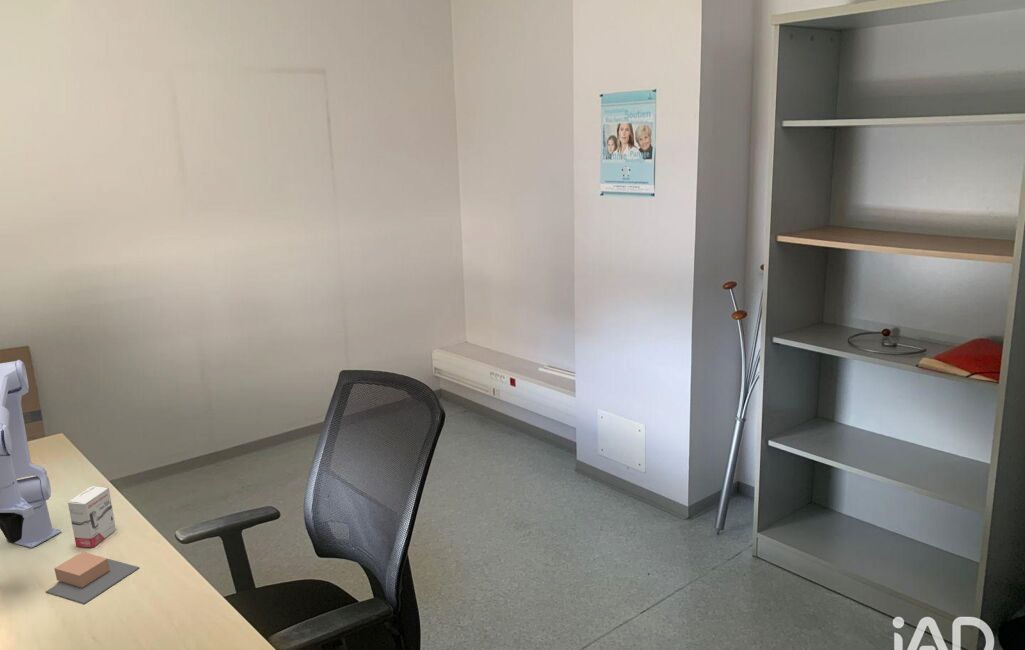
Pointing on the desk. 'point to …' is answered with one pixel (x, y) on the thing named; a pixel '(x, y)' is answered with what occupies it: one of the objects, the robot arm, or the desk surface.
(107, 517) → the ink box
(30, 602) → the desk surface
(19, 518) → the robot arm
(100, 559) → the salmon tan block
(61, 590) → the rubber mat
